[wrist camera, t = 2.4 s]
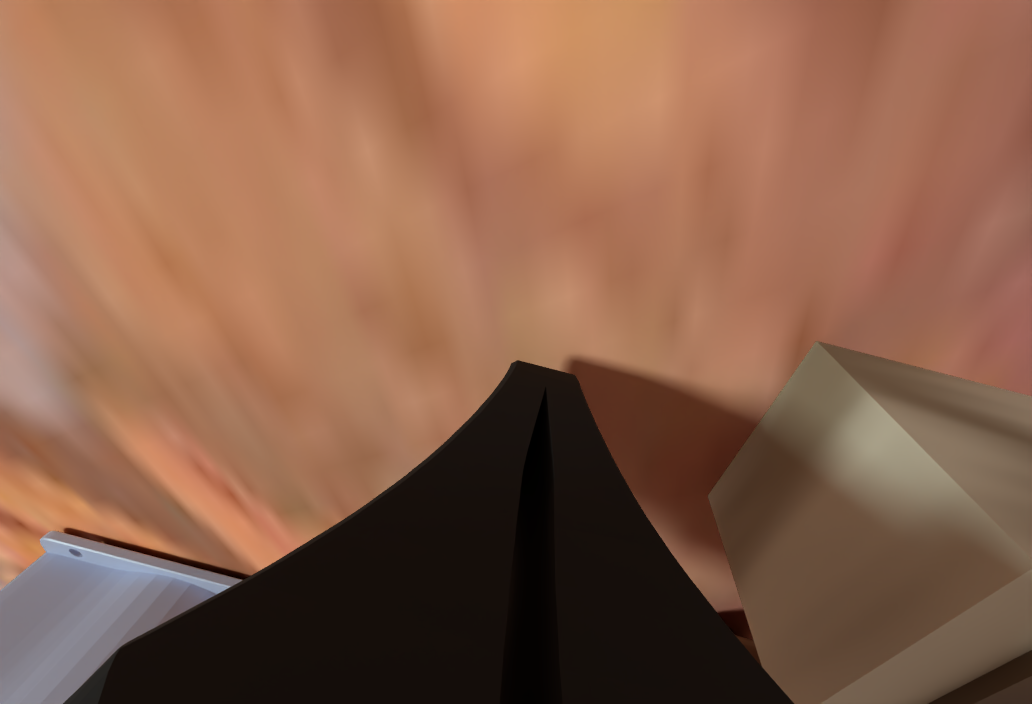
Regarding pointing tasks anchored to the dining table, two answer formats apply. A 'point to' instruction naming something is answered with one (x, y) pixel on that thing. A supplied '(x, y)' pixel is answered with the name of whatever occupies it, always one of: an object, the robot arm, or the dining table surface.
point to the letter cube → (885, 535)
